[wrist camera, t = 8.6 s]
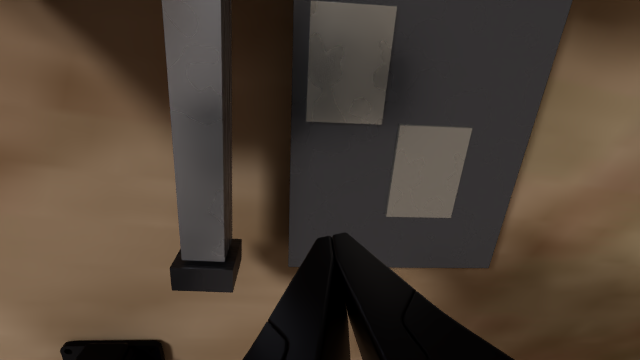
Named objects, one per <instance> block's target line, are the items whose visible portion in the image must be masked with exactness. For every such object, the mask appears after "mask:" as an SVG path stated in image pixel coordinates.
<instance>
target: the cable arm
mask: <svg viewBox="0 0 640 360" xmlns="http://www.w3.org/2000/svg"><path fill="white" fill-rule="evenodd" d="M162 10H163V23H164V36H165V49H166V62H167V75H168V88H169V101H170V114H171V127H172V140H173V154H174V167H175V180H176V193H177V206H178V219H179V232H180V245H181V249H180V251H179V252H178V254H177V256H176V258H175V260H174V261H173V263H172V265H171V267H170V275H171V286H172V290H178V291H206V292H233V290H234V286H235V282H236V278H237V274H238V271H239V267H240V263H241V257H242V239H232V22H231V0H162Z"/></svg>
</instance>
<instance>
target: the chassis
mask: <svg viewBox="0 0 640 360" xmlns="http://www.w3.org/2000/svg"><path fill="white" fill-rule="evenodd" d="M571 4H572V0H294V14H293V63H292V113H291V162H290V211H289V260H288V267H300V266H301V264H302V262H303V261H304V259H305V257H306V256H307V254H308V252H309V251H310V249H311V247H312V246H313V244H314V242H315V241H316V239H317V238H320V237H325V236H331V237H332V236H333V235H334V234H339V233H344V232H346V233H348V234H349V235H350V236H351V237H353V238H354V239H355V240H356V241H357V242H359V243H360V244H361V245H362V246H363V247H365V248H366V249H367V250H368V251H369V252H371V253H372V254H373V255H374V256H375V257H376V258H378V259H379V260H380V261H381V262H382V263H384V264H385V265H386V266H387V267H400V268H489V265H490V262H491V259H492V255H493V252H494V249H495V246H496V243H497V239H498V236H499V233H500V230H501V227H502V224H503V220H504V217H505V214H506V211H507V208H508V204H509V201H510V198H511V195H512V192H513V188H514V185H515V182H516V179H517V176H518V173H519V169H520V166H521V163H522V160H523V157H524V153H525V150H526V147H527V144H528V141H529V137H530V134H531V131H532V128H533V125H534V122H535V118H536V115H537V112H538V109H539V106H540V102H541V99H542V96H543V93H544V90H545V86H546V83H547V80H548V77H549V74H550V71H551V67H552V64H553V61H554V58H555V55H556V51H557V48H558V45H559V42H560V39H561V35H562V32H563V29H564V26H565V23H566V20H567V16H568V13H569V10H570V7H571Z"/></svg>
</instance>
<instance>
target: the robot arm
mask: <svg viewBox="0 0 640 360" xmlns="http://www.w3.org/2000/svg"><path fill="white" fill-rule="evenodd" d="M346 307H347V309H346ZM347 312H348V315H347ZM348 316H349V319H350V323H351V326H352V329H353V332H354V335H355V338H356V341H357V344H358V347H359V350H360V353H361V356H362V359H363V360H514V359H513V358H511V357H510V356H508V355H507V354H505V353H504V352H502V351H500V350H499V349H497V348H496V347H494V346H493V345H491V344H490V343H488V342H487V341H485V340H484V339H482V338H481V337H479V336H477V335H476V334H474V333H473V332H471V331H470V330H468V329H467V328H465V327H464V326H462V325H461V324H459V323H458V322H456V321H455V320H454V319H452V318H451V317H449V316H448V315H446V314H445V313H443V312H442V311H441V310H440V309H438V308H437V307H436V306H435V305H433V304H432V303H431V302H429V301H428V300H427V299H426V298H425V297H423V296H422V295H421V294H420V293H419V292H416V290H415V289H414V288H412V287H411V286H410V285H409V284H408V283H406V282H405V281H404V280H403V279H402V278H400V277H399V276H398V275H397V274H396V273H394V272H393V271H392V270H391V269H390V268H388V267H387V266H386V265H385V264H384V263H382V262H381V261H380V260H379V259H378V258H376V257H375V256H374V255H373V254H372V253H371V252H369V251H368V250H367V249H366V248H365V247H363V246H362V245H361V244H360V243H359V242H357V241H356V240H355V239H354V238H353V237H351V236H350V235H349V234H348V233H346V232H344V233H339V234H334V235H333V236H332V237H331V236H325V237H320V238H317V239H316V241H315V242H314V244H313V246H312V247H311V249H310V251H309V252H308V254H307V256H306V257H305V259H304V261H303V262H302V264H301V266H300V267H299V269H298V271H297V272H296V274H295V276H294V277H293V279H292V281H291V282H290V284H289V286H288V287H287V289H286V291H285V292H284V294H283V296H282V297H281V299H280V301H279V302H278V304H277V306H276V307H275V309H274V311H273V312H272V314H271V316H270V317H269V319H268V322H266V324H265V326H264V327H263V329H262V331H261V332H260V334H259V335H258V337H257V339H256V340H255V342H254V343H253V345H252V346H251V348H250V349H249V351H248V353H247V354H246V355H245V357H244V358H243V360H350V344H349V327H348ZM60 352H61V355H62V358H63V360H165V359H164V353H163V348H162V344H161V343H160V342H158V341H154V340H152V341H69V342H66V343H65V344H64V345H63V347H62V348H61V349H60Z"/></svg>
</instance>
